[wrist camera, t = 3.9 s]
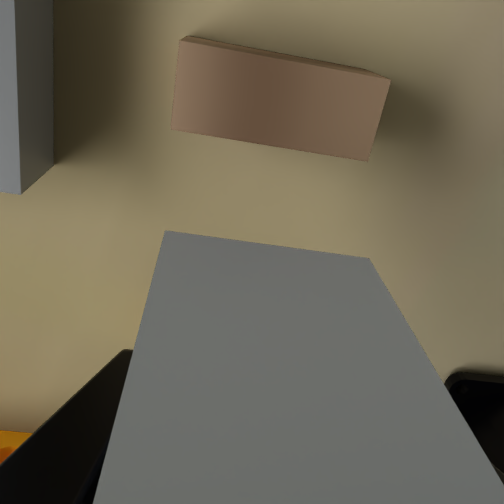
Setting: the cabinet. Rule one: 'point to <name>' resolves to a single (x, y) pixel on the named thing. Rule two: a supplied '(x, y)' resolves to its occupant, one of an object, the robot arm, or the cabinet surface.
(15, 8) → the port
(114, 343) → the cabinet surface
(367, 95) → the brown blocks
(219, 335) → the plug
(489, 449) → the robot arm
